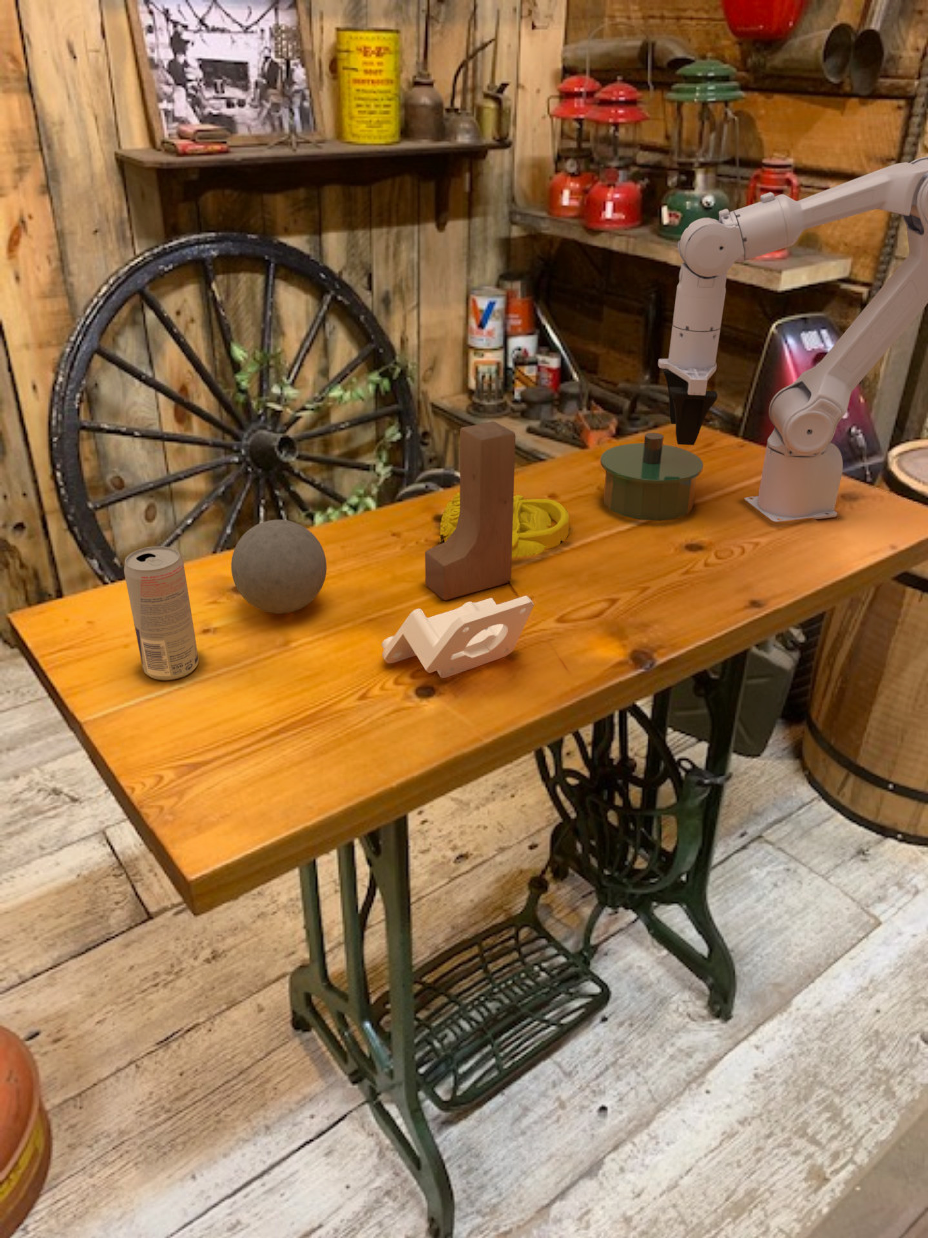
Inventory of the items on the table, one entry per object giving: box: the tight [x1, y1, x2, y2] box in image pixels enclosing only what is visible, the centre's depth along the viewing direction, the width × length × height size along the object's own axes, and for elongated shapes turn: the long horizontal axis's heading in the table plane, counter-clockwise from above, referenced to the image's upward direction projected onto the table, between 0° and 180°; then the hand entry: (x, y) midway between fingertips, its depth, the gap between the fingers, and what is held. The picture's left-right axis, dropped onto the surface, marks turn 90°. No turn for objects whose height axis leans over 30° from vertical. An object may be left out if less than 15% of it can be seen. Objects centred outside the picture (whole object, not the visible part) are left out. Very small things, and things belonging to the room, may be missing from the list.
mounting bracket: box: [381, 595, 535, 679], centre depth 95 cm, size 12×6×11 cm, turn 123°
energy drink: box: [123, 545, 200, 681], centre depth 94 cm, size 5×5×12 cm
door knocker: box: [439, 492, 570, 559], centre depth 123 cm, size 16×16×4 cm
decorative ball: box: [230, 519, 327, 615], centre depth 105 cm, size 10×10×10 cm
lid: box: [599, 432, 704, 484], centre depth 128 cm, size 13×13×4 cm
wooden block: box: [424, 421, 517, 601], centre depth 108 cm, size 9×4×18 cm, turn 120°
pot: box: [603, 470, 697, 522], centre depth 130 cm, size 12×12×6 cm
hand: (682, 433), depth 126 cm, fingers open, 7 cm apart
